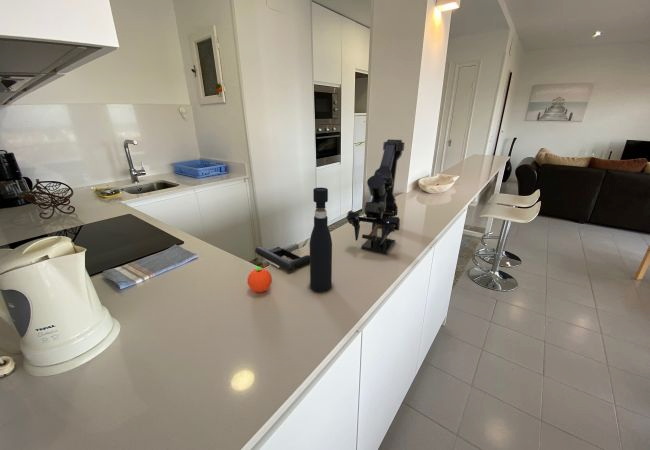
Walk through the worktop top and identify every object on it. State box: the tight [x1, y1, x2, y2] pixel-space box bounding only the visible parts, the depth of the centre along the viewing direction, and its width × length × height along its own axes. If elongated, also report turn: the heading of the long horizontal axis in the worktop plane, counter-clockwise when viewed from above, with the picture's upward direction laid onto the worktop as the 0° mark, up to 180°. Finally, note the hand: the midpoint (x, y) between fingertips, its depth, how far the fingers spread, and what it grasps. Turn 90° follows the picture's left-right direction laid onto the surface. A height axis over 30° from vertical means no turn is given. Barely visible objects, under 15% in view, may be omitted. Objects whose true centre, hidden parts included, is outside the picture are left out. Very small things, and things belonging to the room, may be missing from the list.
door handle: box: [254, 243, 310, 273], centre depth 100 cm, size 3×20×16 cm
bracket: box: [360, 217, 396, 255], centre depth 108 cm, size 12×10×12 cm
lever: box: [361, 223, 382, 241], centre depth 102 cm, size 14×5×2 cm, turn 151°
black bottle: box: [309, 187, 333, 293], centre depth 78 cm, size 6×6×30 cm
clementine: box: [247, 266, 273, 293], centre depth 81 cm, size 8×7×7 cm
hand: (368, 242), depth 97 cm, fingers open, 8 cm apart
